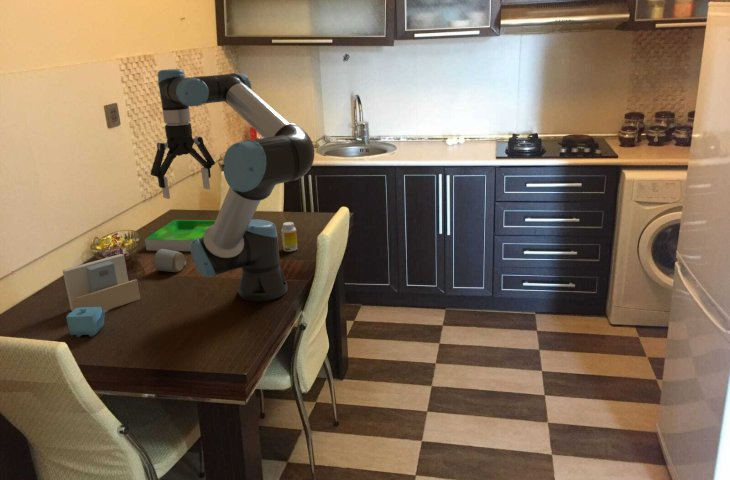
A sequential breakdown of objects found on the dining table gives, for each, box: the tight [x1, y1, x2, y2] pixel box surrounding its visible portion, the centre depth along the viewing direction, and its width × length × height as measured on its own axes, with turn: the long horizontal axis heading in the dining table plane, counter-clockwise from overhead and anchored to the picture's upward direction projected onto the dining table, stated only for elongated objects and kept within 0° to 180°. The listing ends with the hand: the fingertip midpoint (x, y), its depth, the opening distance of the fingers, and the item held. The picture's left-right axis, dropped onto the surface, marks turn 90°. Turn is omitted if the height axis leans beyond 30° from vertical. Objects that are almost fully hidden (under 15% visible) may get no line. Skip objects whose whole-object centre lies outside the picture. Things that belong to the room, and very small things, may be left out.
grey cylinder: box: [153, 249, 187, 273], centre depth 217 cm, size 11×8×8 cm
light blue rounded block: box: [65, 307, 110, 338], centre depth 173 cm, size 12×6×8 cm, turn 90°
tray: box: [144, 219, 216, 252], centre depth 247 cm, size 25×25×5 cm
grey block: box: [86, 261, 118, 293], centre depth 188 cm, size 4×7×10 cm, turn 134°
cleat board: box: [62, 253, 141, 312], centre depth 189 cm, size 9×18×13 cm, turn 134°
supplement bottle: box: [280, 221, 299, 252], centre depth 231 cm, size 6×6×10 cm
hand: (187, 193), depth 190 cm, fingers open, 13 cm apart
